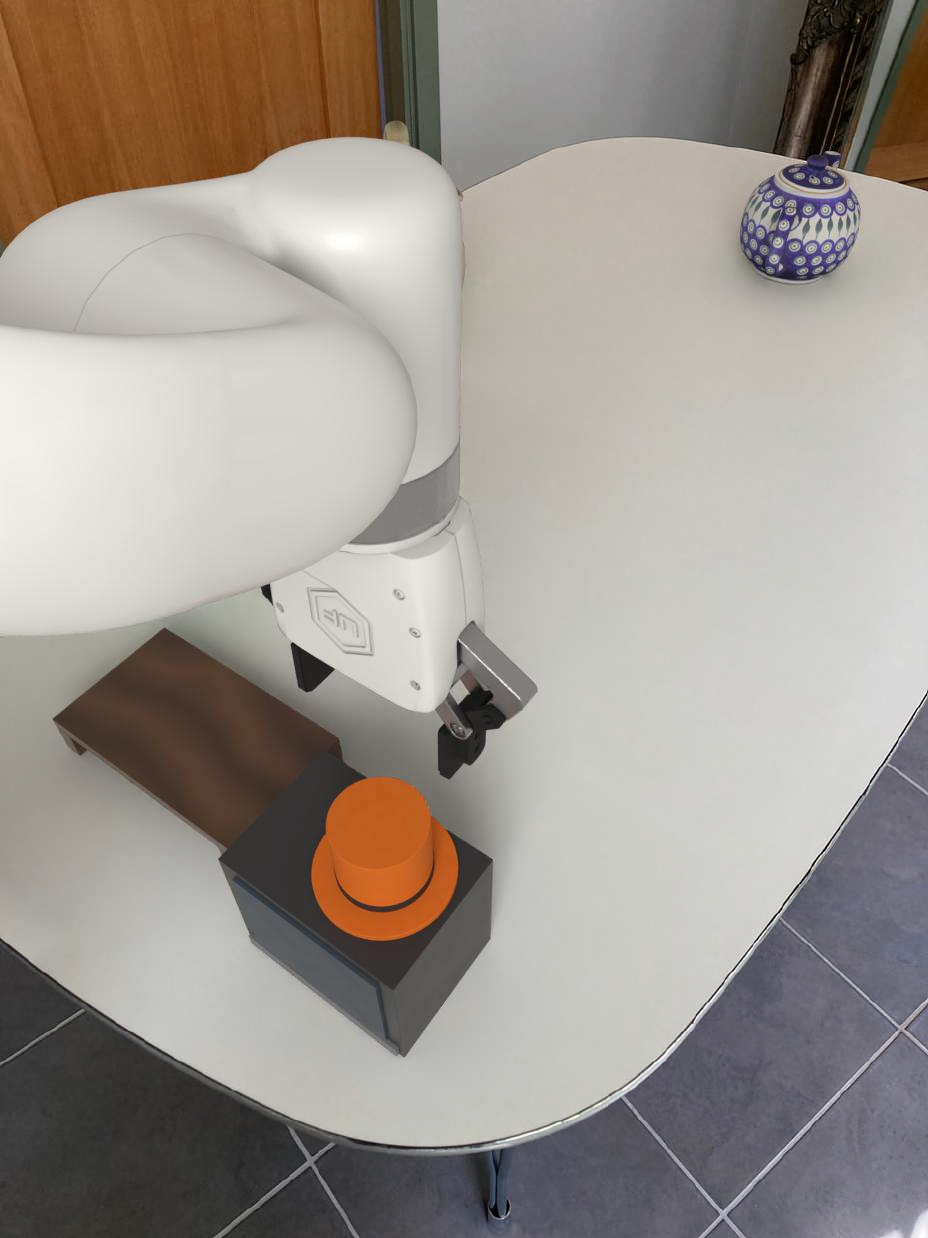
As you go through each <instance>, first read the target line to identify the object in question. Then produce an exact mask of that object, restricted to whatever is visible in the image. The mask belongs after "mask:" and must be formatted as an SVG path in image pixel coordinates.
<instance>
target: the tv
mask: <svg viewBox="0 0 928 1238" xmlns="http://www.w3.org/2000/svg"><path fill="white" fill-rule="evenodd" d="M366 778H368V776H366V775H364V774H362V773H361V772H359V771H358V770H356V769H355V768H353V767H351V766H350V765H348V764H347V763H346V762H342V761H341V760H339V759H338V758H336V757H334V756H333V755H331V754H330V753H328V752H327V751H325V750H323V751H322V752H321V753H320V754H319V755H318V756H317V757H316V759H315V760H314V761H313V762H312V763H311V764H310V765H309V766H308V767H307V768H306V769H305V770H304V771H303V772H302V773H301V774H300V775H299V776H298V777H297V778H296V779H295V780H294V781H293V782H292V783H291V784H290V785H289V786H288V787H287V788H286V789H285V790H284V791H283V792H282V794H281V795H280V796H279V797H278V798H277V799H276V800H275V801H274V802H273V803H272V804H271V805H270V806H269V807H268V808H267V809H266V810H265V811H264V812H263V813H262V814H261V815H260V816H259V817H258V818H257V819H256V820H255V821H254V822H253V823H252V824H251V825H250V826H249V827H248V829H247V830H246V831H245V832H244V833H243V834H242V835H241V836H240V837H239V838H238V839H237V840H236V841H235V842H234V843H233V844H232V845H231V846H230V847H229V848H228V849H227V850H226V851H225V852H224V853H223V854H222V855H221V854H220V856H219V857H218V858H217V861H218V863H219V865H220V868H221V869H222V872H223V874H224V877H225V879H226V881H227V884H228V887H229V889H230V891H231V893H232V896H233V898H234V901H235V903H236V905H237V908H238V910H239V913H240V915H241V917H242V919H243V922H244V924H245V927H246V930H247V931H248V934H249V935H248V938H249V940H250V943H251V944H252V945H253V946H255V947H256V948H257V949H258V950H259V951H261V952H262V953H263V954H264V955H266V956H267V957H269V958H270V959H271V961H272V960H273V962H275V963H276V964H278V965H279V966H280V967H281V968H283V970H285V971H286V972H288V973H289V974H290V975H291V976H292V977H294V978H296V979H297V980H298V981H299V982H300V983H302V984H303V985H304V986H306V988H308V989H310V990H311V992H313V993H314V994H316V995H317V996H318V997H319V998H321V999H322V1000H323V1001H325V1002H326V1003H327V1004H329V1005H330V1006H331V1007H332V1008H334V1009H335V1010H336V1011H337V1012H339V1013H340V1014H341V1015H343V1017H345V1018H346V1019H348V1020H349V1021H350V1022H351V1023H353V1024H354V1025H355V1026H357V1027H358V1028H359V1029H361V1030H362V1032H364V1033H365V1034H367V1035H368V1036H369V1037H371V1038H372V1039H373V1040H374V1041H375V1042H376V1043H378V1044H379V1045H381V1046H382V1047H383V1048H385V1049H386V1050H387V1051H388V1052H390V1053H391V1054H392V1055H393V1056H395V1057H398V1056H400V1057H402V1058H406V1056H407V1055H408V1054H409V1052H411V1049H412V1048H413V1047H414V1045H415V1044H416V1043H417V1041H418V1040H419V1038H420V1037H421V1035H422V1034H423V1033H424V1031H425V1030H426V1029H427V1027H428V1026H429V1024H430V1023H431V1022H432V1020H433V1019H434V1018H435V1016H436V1015H437V1014H438V1012H439V1011H440V1009H442V1007H443V1005H444V1004H445V1002H446V1001H447V1000H448V999H449V997H450V995H452V993H453V992H454V990H455V989H456V987H457V986H458V984H459V983H460V982H461V980H462V979H463V978H464V976H465V975H466V973H467V972H468V970H469V969H470V968H471V967H472V965H473V964H474V962H475V961H476V960H477V958H478V957H479V956H480V955H481V953H482V951H483V950H484V948H485V947H486V946H487V944H488V943H489V942H490V940H491V937H492V936H491V935H492V933H491V931H492V907H493V906H492V904H493V903H492V902H493V879H494V877H493V876H494V858H492V857H490V856H489V855H488V854H486V853H484V852H483V851H481V850H480V849H478V848H476V847H475V846H473V845H472V844H470V843H469V842H467V841H466V840H464V839H462V838H461V837H459V836H458V835H456V834H455V833H454V832H452V831H450V830H448V829H447V828H445V827H444V828H445V829H446V831H447V832H448V833H449V835H450V837H451V839H452V841H453V843H454V845H455V848H456V852H457V857H458V879H457V884H456V888H455V891H454V894H453V896H452V898H451V900H450V902H449V904H448V905H447V907H446V908H445V909H444V911H443V912H442V913H441V914H440V915H439V916H438V918H436V919H435V920H434V921H433V922H432V923H431V924H429V925H428V926H426V927H425V928H424V929H422V930H420V931H418V932H416V933H414V934H412V935H409V936H406V937H404V938H399V939H395V940H386V941H378V940H368V939H363V938H359V937H356V936H353V935H351V934H349V933H347V932H345V931H343V930H342V929H340V928H339V927H337V926H336V925H335V924H334V923H332V922H331V921H330V920H329V919H328V917H327V916H326V915H325V914H324V912H323V911H322V909H321V908H320V906H319V904H318V902H317V900H316V897H315V894H314V890H313V886H312V879H311V871H312V863H313V858H314V855H315V852H316V849H317V847H318V845H319V843H320V841H321V840H322V838H323V836H324V835H325V834H326V818H327V814H328V811H329V809H330V807H331V805H332V803H333V802H334V800H335V799H336V798H337V796H338V795H339V794H340V793H341V792H342V791H343V790H345V789H346V788H347V787H349V786H350V785H352V784H354V783H356V782H358V781H360V780H363V779H366Z"/></svg>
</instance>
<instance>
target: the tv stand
mask: <svg viewBox="0 0 928 1238" xmlns="http://www.w3.org/2000/svg"><path fill="white" fill-rule="evenodd" d="M52 721H53V723H54V725H55V726H56V728H57V730H58V731H59V734H60V735H61V737H62V739H63V741H64V742H65V745H66V746H67V748H69V749H71V750H72V751H73V752H74V753H76V754H77V755H78V756H82V755H83V754H84V753H85V752H86V751H88V752H90V754H92V755H94V756H95V757H96V758H98V759H99V760H100V761H102V762H103V763H105V764H106V765H107V766H108V767H110V768H111V769H113V770H114V771H115V772H117V773H118V774H119V775H120V776H122V777H123V778H124V779H126V780H127V781H129V782H130V783H131V784H133V785H134V786H135V787H137V788H138V789H139V790H140V791H142V792H143V793H145V794H146V795H147V796H149V797H150V798H151V799H153V800H154V801H155V802H157V803H158V804H160V806H162V807H164V808H165V809H166V810H167V811H169V812H170V813H172V814H173V815H174V816H175V817H177V818H178V819H179V820H181V821H182V822H184V823H185V824H186V825H188V826H189V827H190V828H192V829H193V830H194V831H195V832H197V833H198V834H200V835H201V836H202V837H204V838H205V839H207V840H208V841H209V842H210V843H212V844H213V845H215V847H217V848H218V850H219V853H220V856H221V855H222V854H223V853H224V852H225V851H226V850H227V849H228V848H229V847H230V846H231V845H232V844H233V843H234V842H235V841H236V840H237V839H238V838H239V837H240V836H241V835H242V834H243V833H244V832H245V831H246V830H247V829H248V827H249V826H250V825H251V824H252V823H253V822H254V821H255V820H256V819H257V818H258V817H259V816H260V815H261V814H262V813H263V812H264V811H265V810H266V809H267V808H268V807H269V806H270V805H271V804H272V803H273V802H274V801H275V800H276V799H277V798H278V797H279V796H280V795H281V794H282V792H283V791H284V790H285V789H286V788H287V787H288V786H289V785H290V784H291V783H292V782H293V781H294V780H295V779H296V778H297V777H298V776H299V775H300V774H301V773H302V772H303V771H304V770H305V769H306V768H307V767H308V766H309V765H310V764H311V763H312V762H313V761H314V760H315V759H316V757H317V756H318V755H319V754H320V753H321V752H322V751H323V750H325V751H327V752H328V753H330V754H331V755H333V756H334V757H336V758H338V759H339V760H341V761H342V762H344V761H345V760H344V756H343V750H342V747H341V746H342V745H341V739H340V737H338V736H336V735H335V734H334V733H332V732H330V731H329V730H327V729H326V728H324V727H322V726H321V725H319V724H317V722H314V721H312V720H311V719H310V718H308V717H307V716H305V715H303V714H301V712H299V711H297V710H296V709H294V708H292V707H291V706H289V705H288V704H286V703H285V702H283V701H282V700H280V699H278V698H276V697H275V696H273V694H270V693H269V692H268V691H266V690H264V689H262V688H261V687H259V686H258V685H256V684H255V683H253V682H252V681H250V680H249V679H248V678H245V677H244V676H242V675H240V674H239V673H238V672H236V671H235V670H233V669H232V668H230V667H228V666H226V665H225V664H223V663H222V662H220V661H219V660H217V659H215V658H214V657H212V656H211V655H209V654H208V653H206V652H205V651H202V650H201V649H200V648H198V647H196V646H195V645H193V644H192V643H191V642H189V641H188V640H185V639H184V638H183V637H181V636H179V635H178V634H176V633H174V632H173V631H172V630H170V629H168V628H167V627H162V629H161V630H159V631H158V632H157V633H155V634H154V635H153V636H151V638H149V639H148V640H147V641H146V642H144V643H143V644H142V645H141V646H139V647H138V648H137V649H135V651H134V652H132V653H131V654H130V655H128V656H127V657H126V658H125V659H124V660H122V661H121V662H120V663H119V664H117V665H116V666H115V667H114V668H112V670H110V671H109V672H108V673H107V674H105V675H104V676H103V677H101V679H98V681H97V682H96V683H94V684H93V685H92V686H90V687H89V688H88V689H86V691H84V692H83V693H82V694H81V695H80V696H79V697H77V698H75V699H74V700H73V701H72V702H71V703H70V704H68V705H67V706H66V707H65V708H63V709H62V710H61V711H60V712H59V713H57V714H56V715H55V716H54V717H53V718H52ZM344 763H345V762H344Z"/></svg>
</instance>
